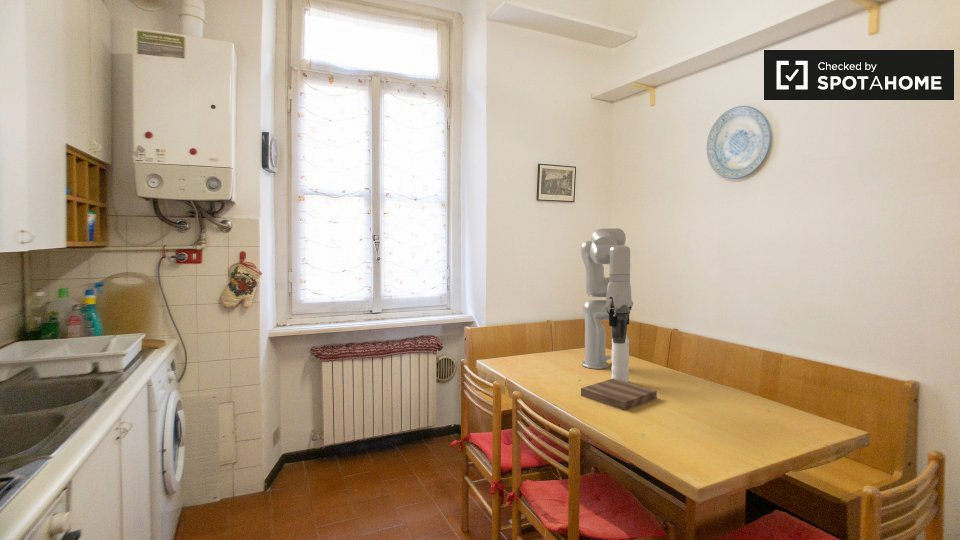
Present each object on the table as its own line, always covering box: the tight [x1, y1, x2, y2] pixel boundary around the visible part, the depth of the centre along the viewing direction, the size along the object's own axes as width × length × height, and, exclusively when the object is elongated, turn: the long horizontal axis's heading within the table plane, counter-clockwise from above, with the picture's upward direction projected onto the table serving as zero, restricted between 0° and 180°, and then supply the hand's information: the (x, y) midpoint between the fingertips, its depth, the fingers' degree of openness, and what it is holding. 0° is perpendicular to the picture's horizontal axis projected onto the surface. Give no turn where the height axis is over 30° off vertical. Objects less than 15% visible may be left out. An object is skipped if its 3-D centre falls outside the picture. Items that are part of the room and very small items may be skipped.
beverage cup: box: [611, 305, 630, 344], centre depth 176 cm, size 7×7×20 cm
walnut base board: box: [580, 378, 658, 411], centre depth 178 cm, size 20×20×3 cm
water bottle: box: [610, 334, 630, 383], centre depth 196 cm, size 7×7×25 cm
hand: (619, 324), depth 176 cm, fingers closed on beverage cup, 6 cm apart
